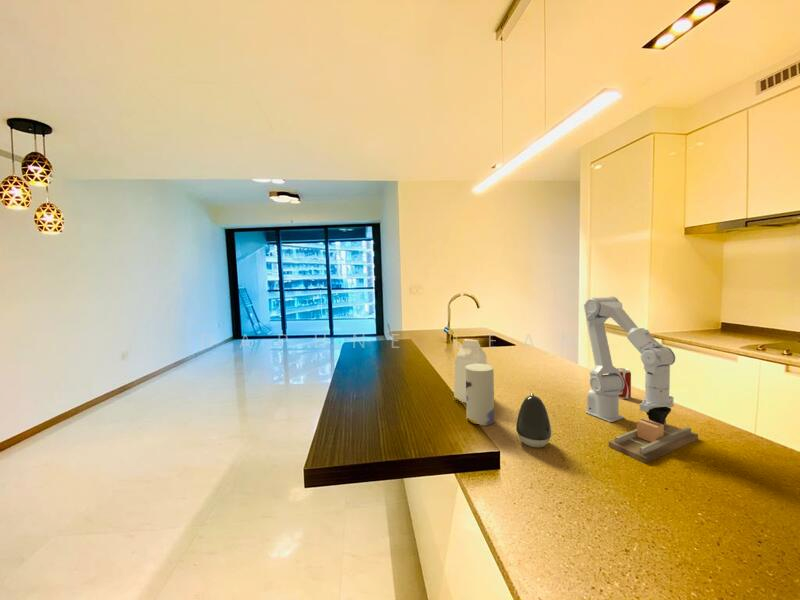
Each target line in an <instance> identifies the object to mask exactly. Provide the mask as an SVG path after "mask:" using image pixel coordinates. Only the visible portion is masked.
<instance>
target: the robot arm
mask: <svg viewBox="0 0 800 600" xmlns="http://www.w3.org/2000/svg"><path fill="white" fill-rule="evenodd" d="M583 307H584V312H585V320H586V325H587V330H588V331H587V332H588V337H589V341H590V346H591V350H592V351H591V352H592V356H593V361H594V365H595V366H594V367H593V369H591V371H589V385H590V388H591V389H589V390H588V392H587V394H586V411H585V414H588V415H591V416H593V417H596V418H599V419H601V420H604V421H606V422H609V423H613V422H616V421H619V420H623V419H624V418H625V416H624V415H621V414H619V412H620V410H619V408H620V407H619V403H620V402H619V401H620V400H619V399H620V398H619V394H620V391H621V390H623V389H624V385H625V384H624V380H623V378H622V377H621V375H620V371H619V370H618V369H617V368H616V367H615V366H614V365H613V362H612V356H611V351H610V346H609V342H608V338H607V337H608V336H607V333H606V327H605V322H606V321H607V320H608V319H610V318H611V319H612V320H613V321H614V322H615V323H616V324H617V325H618V326H619V327H620V328H621V329H623V330H624V331H625V332H626V333H627V340H628V341H629V342H630V343H631V344H632V345H633V347H634V348H635V349H636V350H637V351H638V353H640V356H639V357H640V360H641V362H642V364H643V369H644V372H645V383H644V384H645V385H644V387H645V392H644V393H645V394H644V395H645V396H644V398H643V400H642V402H641V403H639V410H640V411H642V412H645V413H646V415H647V419H649V420H652V421H655V422H657V423H660V424H663V425H664V422H665V419H666V418H667V417H668V415H669V414H670V413H671V412H672V408H673V407H675V404H674V396H671V395H670V390H671V389H670V387H671V386H670V383H671V380H670V379H671V377H670V376H671V374H670V373H671V366H672V365H673V364H674V363H675V362H676V355H675V353H674V351H673V350H672V348H670V347H669V346H664V345H663V344H661V343H660V342H658V340H656V339H655V337H653V336H652V334H651V333H650V331H649V330H648V329H645V328H643V327H638V326H637V325H636V323H635V322H634V321H633V319H632V318H631V317H630V316H629V315H628V314H627V312H626V311H625V309H624V308H623V303H622V302H621V301H620V300H619V299H618V298H617V297H615V296H608V297H607V296H606V297H603V296H601V297H589V298H588V299H587V300H586V301H585V303H584V305H583ZM666 420H667V419H666Z"/></svg>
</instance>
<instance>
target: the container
mask: <svg viewBox="0 0 800 600" xmlns="http://www.w3.org/2000/svg"><path fill="white" fill-rule="evenodd" d="M465 370H466V403H465V405H466V409H465V410H466V411H465V413H466V419H467V418H469V419H471V420H473V421H475V422H477V423H478V424H480V425H479V426H489V425H492V424H493V423H495V386H494V385H495V384H494V383H495V382H494V378H495V377H494V367H493V366H492V365H490V364H488V363H487V364H470V365H467V366H466V367H465Z"/></svg>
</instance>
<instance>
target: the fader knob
mask: <svg viewBox="0 0 800 600" xmlns="http://www.w3.org/2000/svg"><path fill="white" fill-rule="evenodd" d="M636 429H637V437H639V438H642V439H644V440H647V441H649V442H653V441H656V440H658V439H660V438H663V432H664V425H663V424H660V423H657V422H655V421H652V420H649V418H646V417H645V418H640V419H639V420H637V421H636Z"/></svg>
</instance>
